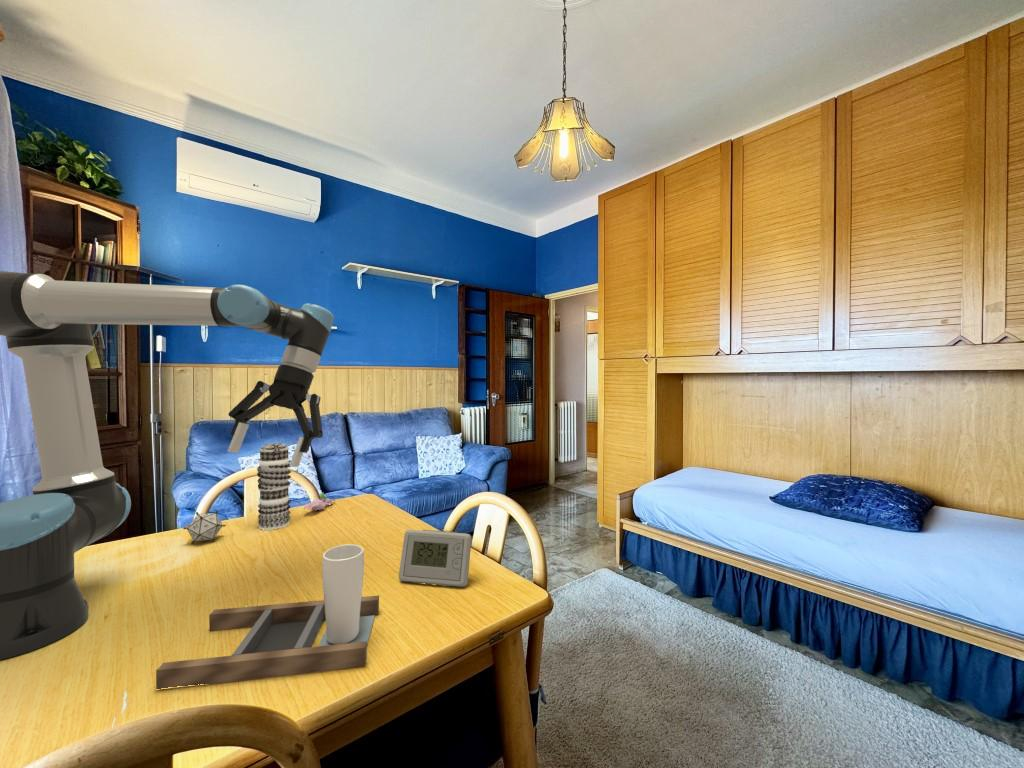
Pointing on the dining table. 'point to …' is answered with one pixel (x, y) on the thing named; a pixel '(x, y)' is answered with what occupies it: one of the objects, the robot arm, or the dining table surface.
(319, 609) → the tray
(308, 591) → the dining table surface
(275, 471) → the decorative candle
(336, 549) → the drinking glass
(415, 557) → the digital clock
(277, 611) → the brown wooden divided tray
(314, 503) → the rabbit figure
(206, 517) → the game die
